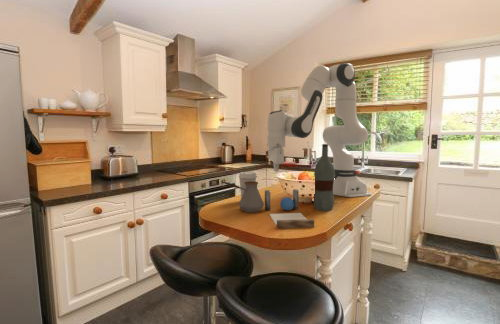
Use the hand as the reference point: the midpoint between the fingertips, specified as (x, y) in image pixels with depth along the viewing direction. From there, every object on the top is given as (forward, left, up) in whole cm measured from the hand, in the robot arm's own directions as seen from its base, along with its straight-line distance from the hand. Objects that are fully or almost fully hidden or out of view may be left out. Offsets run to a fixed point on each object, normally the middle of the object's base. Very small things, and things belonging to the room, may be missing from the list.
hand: (276, 171), depth 142 cm
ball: (-2, +14, -13) cm, 20 cm away
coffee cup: (+14, -3, -16) cm, 22 cm away
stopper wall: (0, +37, -16) cm, 40 cm away
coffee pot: (+18, +15, -16) cm, 29 cm away
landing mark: (0, +27, -16) cm, 31 cm away
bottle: (-20, +14, -16) cm, 29 cm away
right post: (-7, +13, -16) cm, 22 cm away
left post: (+7, +13, -16) cm, 22 cm away
